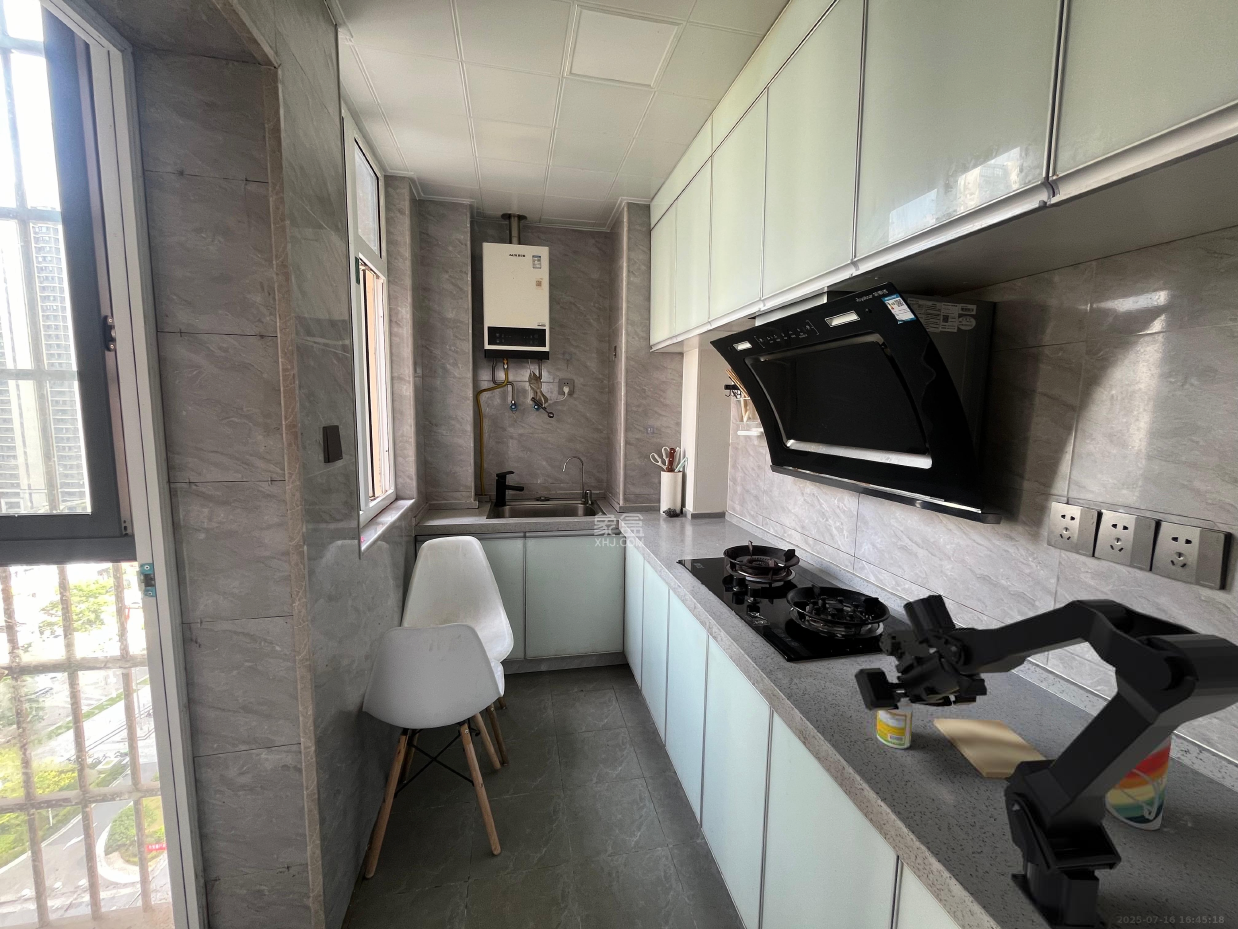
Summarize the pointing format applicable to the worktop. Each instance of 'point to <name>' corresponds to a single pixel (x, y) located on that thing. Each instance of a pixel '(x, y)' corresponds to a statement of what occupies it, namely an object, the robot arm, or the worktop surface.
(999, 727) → the oak board
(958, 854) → the worktop surface
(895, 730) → the supplement bottle
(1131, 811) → the lotion bottle
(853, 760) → the worktop surface
